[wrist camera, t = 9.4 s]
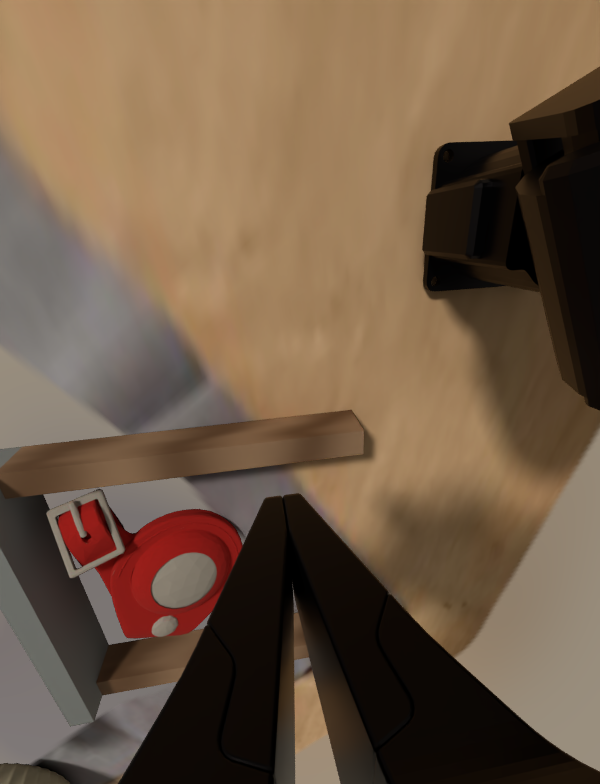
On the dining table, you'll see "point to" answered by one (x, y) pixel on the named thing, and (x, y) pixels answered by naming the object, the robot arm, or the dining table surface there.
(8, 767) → the canister
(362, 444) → the walnut channel
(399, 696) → the robot arm
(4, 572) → the end stop
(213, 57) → the dining table surface
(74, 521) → the tracker holder
